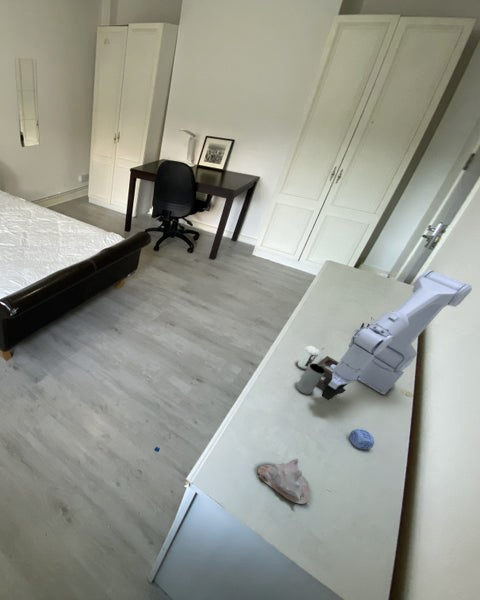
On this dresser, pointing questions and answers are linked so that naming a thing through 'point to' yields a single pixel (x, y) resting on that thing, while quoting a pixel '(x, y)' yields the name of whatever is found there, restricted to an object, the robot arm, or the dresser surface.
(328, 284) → the dresser surface
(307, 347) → the milkshake
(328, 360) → the holder
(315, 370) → the grey hollow cylinder
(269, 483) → the seashell
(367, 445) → the decorative dice
